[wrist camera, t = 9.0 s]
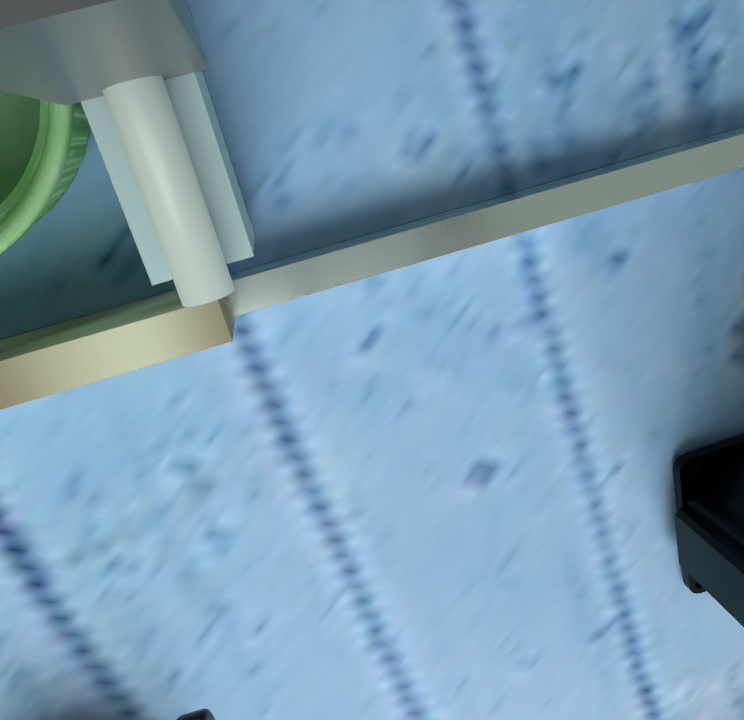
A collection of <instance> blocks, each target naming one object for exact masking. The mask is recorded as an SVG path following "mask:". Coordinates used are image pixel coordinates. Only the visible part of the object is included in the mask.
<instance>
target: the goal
mask: <svg viewBox="0 0 744 720" xmlns="http://www.w3.org/2000/svg"><path fill="white" fill-rule="evenodd" d="M743 167H744V127H742V128H738V129H735V130H731V131H728V132H724V133H721V134H717V135H714V136H710V137H707V138H703V139H700V140H696V141H693V142H689V143H686V144H682V145H679V146H675V147H672V148H668V149H665V150H661V151H658V152H654V153H651V154H647V155H644V156H640V157H637V158H634V159H630V160H627V161H623V162H620V163H616V164H613V165H609V166H606V167H602V168H599V169H595V170H592V171H588V172H585V173H581V174H578V175H574V176H571V177H567V178H564V179H560V180H557V181H553V182H550V183H546V184H543V185H539V186H536V187H532V188H529V189H525V190H522V191H518V192H515V193H511V194H508V195H505V196H501V197H498V198H494V199H491V200H487V201H484V202H480V203H477V204H473V205H470V206H466V207H463V208H459V209H456V210H452V211H449V212H445V213H442V214H438V215H435V216H431V217H428V218H424V219H421V220H417V221H414V222H410V223H407V224H403V225H400V226H396V227H393V228H389V229H386V230H382V231H379V232H376V233H372V234H369V235H365V236H362V237H358V238H355V239H351V240H348V241H344V242H341V243H337V244H334V245H330V246H327V247H323V248H320V249H316V250H313V251H309V252H306V253H302V254H299V255H295V256H292V257H288V258H285V259H281V260H278V261H274V262H271V263H267V264H264V265H260V266H257V267H253V268H250V269H246V270H243V271H240V272H236V273H233V274H230V276H231V279H232V282H233V285H234V288H235V290H234V292H232V293H231V294H229V295H227V296H225V297H223V298H221V299H218V300H215V301H212V302H209V303H206V304H202V305H198V306H192V307H184V306H183V305H182V303H181V300H180V297H179V295H178V292H177V290H173V291H170V292H166V293H163V294H159V295H156V296H152V297H149V298H145V299H142V300H138V301H135V302H131V303H128V304H124V305H121V306H117V307H114V308H111V309H107V310H104V311H100V312H97V313H93V314H90V315H86V316H83V317H79V318H76V319H72V320H69V321H65V322H62V323H58V324H55V325H51V326H48V327H44V328H41V329H37V330H34V331H30V332H27V333H23V334H20V335H16V336H13V337H9V338H6V339H2V340H0V409H4V408H7V407H11V406H14V405H17V404H21V403H24V402H27V401H31V400H34V399H38V398H41V397H44V396H48V395H51V394H55V393H58V392H61V391H65V390H68V389H71V388H75V387H78V386H82V385H85V384H88V383H92V382H95V381H99V380H102V379H105V378H109V377H112V376H115V375H119V374H122V373H126V372H129V371H132V370H136V369H139V368H142V367H146V366H149V365H153V364H156V363H159V362H163V361H166V360H170V359H173V358H176V357H180V356H183V355H186V354H190V353H193V352H197V351H200V350H203V349H207V348H210V347H214V346H217V345H220V344H224V343H227V342H230V341H232V340H233V332H234V323H235V316H237V315H240V314H244V313H247V312H251V311H254V310H257V309H261V308H264V307H268V306H271V305H275V304H278V303H281V302H285V301H288V300H292V299H295V298H299V297H302V296H305V295H309V294H312V293H316V292H319V291H322V290H326V289H329V288H333V287H336V286H340V285H343V284H346V283H350V282H353V281H357V280H360V279H363V278H367V277H370V276H374V275H377V274H381V273H384V272H387V271H391V270H394V269H398V268H401V267H405V266H408V265H411V264H415V263H418V262H422V261H425V260H428V259H432V258H435V257H439V256H442V255H446V254H449V253H452V252H456V251H459V250H463V249H466V248H469V247H473V246H476V245H480V244H483V243H487V242H490V241H493V240H497V239H500V238H504V237H507V236H511V235H514V234H517V233H521V232H524V231H528V230H531V229H534V228H538V227H541V226H545V225H548V224H552V223H555V222H558V221H562V220H565V219H569V218H572V217H575V216H579V215H582V214H586V213H589V212H593V211H596V210H599V209H603V208H606V207H610V206H613V205H617V204H620V203H623V202H627V201H630V200H634V199H637V198H640V197H644V196H647V195H651V194H654V193H658V192H661V191H664V190H668V189H671V188H675V187H678V186H681V185H685V184H688V183H692V182H695V181H699V180H702V179H705V178H709V177H712V176H716V175H719V174H723V173H726V172H729V171H733V170H736V169H740V168H743Z"/></svg>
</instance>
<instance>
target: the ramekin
mask: <svg viewBox="0 0 744 720" xmlns="http://www.w3.org/2000/svg"><path fill="white" fill-rule="evenodd" d="M88 137H89V122H88V120H87V117H86V114H85V112H84V109H83V107H82V104H81V102H78V103H74V104H70V105H61V104H57V103H53V102H48V101H44V100H39V99H35V98H31V97H26V96H22V95H17V94H13V93H9V92H4V91H0V254H1V253H2V252H4V251H5V250H6V249H8V248H9V247H10V246H11V245H12V244H13V243H15V242H16V241H17V240H18V239H19V238H20V237H21V236H22V235H23V234H24V233H25V232H26V231H27V230H28V229H29V228H30V226H31V225H32V224H34V223H35V222H36V221H38V220H39V219H40V218H41V217H42V216H43V215H44V214H45V213H47V212H48V211H49V210H50V209H52V208H53V207H54V205H55V204H56V203H57V202H58V201H59V199H60V198H61V197H62V196H63V194H64V193H65V192H66V190H67V189H68V187H69V185H70V184H71V182H72V181H73V179H74V177H75V175H76V173H77V171H78V169H79V166H80V163H81V161H82V159H83V156H84V153H85V149H86V144H87V140H88Z"/></svg>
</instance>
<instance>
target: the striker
mask: <svg viewBox="0 0 744 720" xmlns="http://www.w3.org/2000/svg"><path fill="white" fill-rule="evenodd" d="M205 69H208V66H207V63H206V60H205V56H204V53H203V50H202V47H201V44H200V41H199V37H198V34H197V31H196V28H195V25H194V22H193V18H192V15H191V12H190V9H189V6H188V3H187V0H0V91H4V92H9V93H13V94H17V95H22V96H26V97H31V98H35V99H39V100H44V101H48V102H53V103H57V104H61V105H70V104H74V103H78V102H81V104H82V107H83V109H84V112H85V114H86V117H87V120H88V122H89V125H90V127H91V130H92V132H93V135H94V137H95V140H96V143H97V145H98V148H99V150H100V153H101V155H102V158H103V161H104V163H105V166H106V168H107V171H108V173H109V176H110V179H111V181H112V184H113V186H114V189H115V191H116V194H117V196H118V199H119V202H120V204H121V207H122V209H123V212H124V214H125V217H126V220H127V222H128V225H129V227H130V230H131V232H132V235H133V238H134V240H135V243H136V245H137V248H138V250H139V253H140V255H141V258H142V261H143V263H144V266H145V268H146V271H147V273H148V276H149V279H150V281H151V284H152V285H156V284H159V283H163V282H166V281H170V280H173V281H174V284H175V287H176V289H177V292H178V295H179V297H180V300H181V303H182V305H183V306H184V307H192V306H198V305H202V304H206V303H209V302H212V301H215V300H218V299H221V298H223V297H225V296H227V295H229V294H231V293H232V292H234V290H235V288H234V285H233V282H232V279H231V276H230V273H229V270H228V267H227V264H229V263H233V262H236V261H240V260H243V259H247V258H250V257H254V231H253V228H252V225H251V222H250V219H249V216H248V213H247V210H246V206H245V203H244V200H243V197H242V194H241V191H240V188H239V184H238V181H237V178H236V175H235V172H234V169H233V166H232V163H231V159H230V156H229V153H228V150H227V147H226V144H225V141H224V138H223V134H222V131H221V128H220V125H219V122H218V119H217V116H216V112H215V109H214V106H213V103H212V100H211V97H210V94H209V91H208V87H207V84H206V81H205V78H204V75H203V72H202V70H205Z"/></svg>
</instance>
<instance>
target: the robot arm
mask: <svg viewBox="0 0 744 720" xmlns="http://www.w3.org/2000/svg"><path fill="white" fill-rule="evenodd" d="M689 465H691V466H690V468H689V469H687V470H686V468H687V467H688V466H689ZM673 473H674V484H675V495H676V506H677V510H676V514H675V523H676V534H677V545H678V556H679V563H680V565H681V566H682V572H683V582H684V584H685V585H686V586H687V587H688V588H689V589H690V590H691V591H692V592H693V593H697V594H698V593H702V592H705V591H707V592H708V593H709V594H710V595H711V596H712V597H713V598H715V599H716V600H717V601H718V602H719V603H720V604H721V605H722V606H723V607H724V608H725V609H726V610H727V611H728V612H729V613H730V614H731V615H732V616H733V617H734V618H735V619H736V620H737V621H738V622H739V623H740V624H741V625H742V626H743V627H744V434H743V435H740V436H737V437H734V438H731V439H728V440H724V441H721V442H718V443H715V444H712V445H709V446H706V447H703V448H700V449H697V450H694V451H691V452H688V453H685V454H683V455H681V456H679V457H678V458H677V459H676V461H675V463H674V466H673ZM177 720H215V719H214V716H213V714H212V713H211V712H210V710H208V709H201V710H198V711H194V712H191V713H188V714H184V715H182V716H180V717H179V718H178V719H177Z"/></svg>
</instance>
